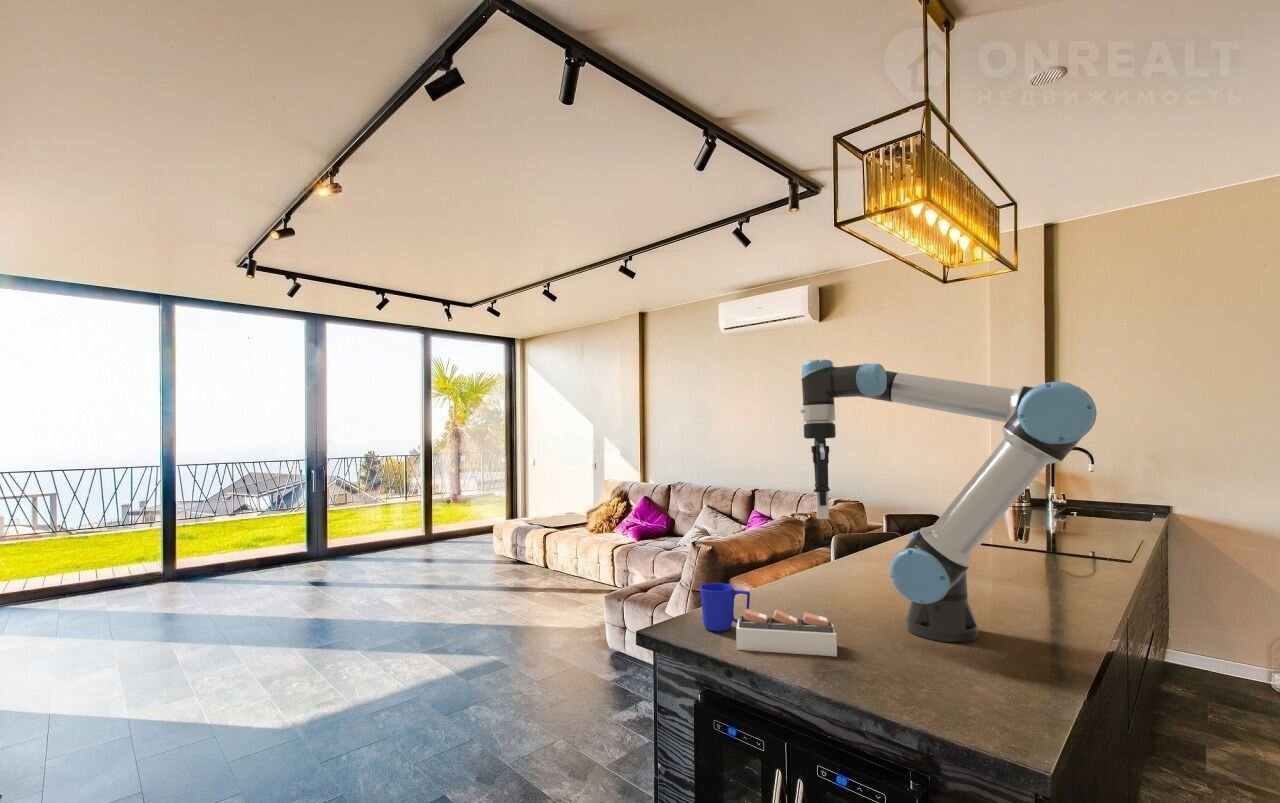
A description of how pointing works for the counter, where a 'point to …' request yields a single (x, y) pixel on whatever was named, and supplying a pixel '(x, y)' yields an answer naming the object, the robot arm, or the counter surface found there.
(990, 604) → the counter surface
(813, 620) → the orange rectangular block
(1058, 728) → the counter surface
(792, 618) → the block
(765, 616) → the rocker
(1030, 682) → the counter surface
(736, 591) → the mug
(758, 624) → the white rack
